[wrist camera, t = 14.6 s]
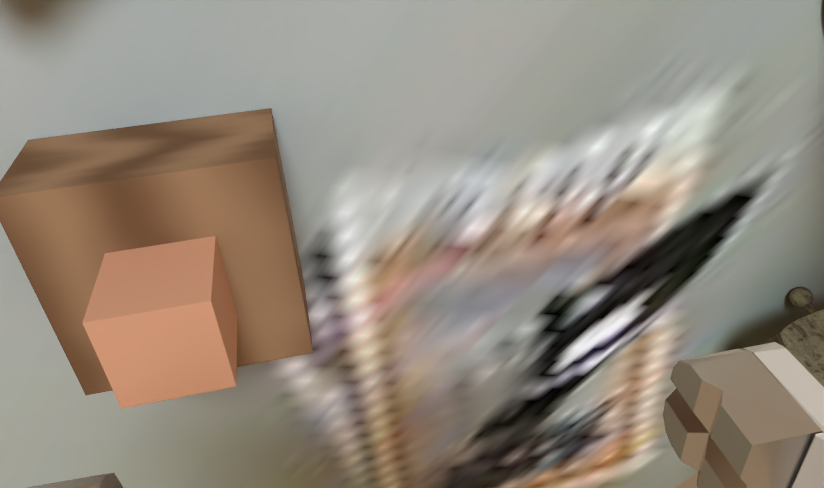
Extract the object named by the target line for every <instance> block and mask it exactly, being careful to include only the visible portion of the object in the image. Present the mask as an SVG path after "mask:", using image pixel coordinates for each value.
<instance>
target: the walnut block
mask: <svg viewBox="0 0 824 488" xmlns="http://www.w3.org/2000/svg"><path fill="white" fill-rule="evenodd" d="M0 222H1V224H2V226H3V228H4V230H5V232H6V234H7V236H8V238H9V240H10V242H11V244H12V246H13V248H14V250H15V252H16V255H17V257H18V259H19V261H20V263H21V265H22V267H23V269H24V271H25V273H26V275H27V277H28V279H29V281H30V283H31V285H32V287H33V289H34V291H35V293H36V295H37V297H38V299H39V301H40V303H41V305H42V307H43V309H44V311H45V313H46V315H47V317H48V319H49V321H50V324H51V326H52V328H53V330H54V332H55V334H56V336H57V338H58V340H59V342H60V344H61V346H62V348H63V350H64V352H65V354H66V356H67V358H68V360H69V362H70V364H71V366H72V368H73V370H74V372H75V374H76V376H77V378H78V380H79V382H80V384H81V386H82V388H83V390H84V392H85V395H90V394H95V393H100V392H106V391H111V390H113V389H112V387H111V385H110V383H109V380H108V378H107V376H106V374H105V372H104V369H103V367H102V365H101V363H100V361H99V358H98V356H97V354H96V352H95V350H94V347H93V345H92V343H91V341H90V339H89V336H88V334H87V332H86V330H85V328H84V325H83V320H84V316H85V313H86V310H87V307H88V304H89V301H90V298H91V295H92V292H93V289H94V285H95V282H96V279H97V276H98V273H99V270H100V267H101V264H102V261H103V258H104V255H105V253H110V252H117V251H123V250H129V249H136V248H142V247H148V246H155V245H161V244H168V243H174V242H180V241H187V240H193V239H199V238H206V237H212V236H216V240H217V243H218V247H219V251H220V254H221V258H222V262H223V265H224V269H225V273H226V276H227V280H228V284H229V287H230V291H231V295H232V298H233V302H234V306H235V309H236V313H237V367H239V366H244V365H249V364H255V363H260V362H265V361H271V360H276V359H281V358H287V357H292V356H297V355H303V354H308V353H313V348H312V341H311V333H310V325H309V317H308V309H307V301H306V293H305V286H304V281H303V276H302V270H301V265H300V260H299V254H298V249H297V244H296V238H295V233H294V228H293V222H292V217H291V212H290V206H289V201H288V196H287V190H286V185H285V180H284V175H283V169H282V164H281V159H280V153H279V148H278V143H277V137H276V132H275V127H274V121H273V116H272V111H271V108H270V109H263V110H255V111H247V112H240V113H232V114H224V115H217V116H209V117H202V118H194V119H186V120H179V121H171V122H163V123H156V124H148V125H140V126H133V127H125V128H118V129H110V130H102V131H95V132H87V133H79V134H72V135H64V136H56V137H49V138H41V139H33V140H28V141H27V143H26V144H25V146H24V147H23V149H22V150H21V152H20V153H19V155H18V156H17V158H16V159H15V160H14V162H13V163H12V165H11V166H10V168H9V169H8V171H7V172H6V174H5V175H4V177H3V178H2V180H1V181H0Z"/></svg>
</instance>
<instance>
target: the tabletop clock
mask: <svg viewBox="0 0 824 488" xmlns="http://www.w3.org/2000/svg"><path fill="white" fill-rule="evenodd" d="M789 299H790V301H791V303H792V304H793V305H794V306H797V307H800V308H804V307H805V308H806V310H807V311H808V313H809V314H810V315H807V316H805V317H802V318H800V319H798V320H796V321H794V322H792V323H791V324H789V325H788V326H786V327H785V328H783V329H782V330H781V331H779V332H778V333H777V334H775V335H774V336H773V337H771V338H770V339H769V340H768V341H767V342H766V343H765V344H767V343H772V342H776V343H778V344H780V345H782V346H784V347H785V348H786V349H787V350H788V351H789V352H790V353H791V354H792V355H793V356H794V357H795V358H796V359H797V360H798V361H799V362H800V363H801V364H802V365H803V366H804V367H805V369H806V370H807V371H808V372H809V373H810V374H811V375H812V376H813V377H814V378H815V379H816V380H817V381H818V382H819V383H820V384H821V385H822V386H823V387H824V309H822V310H820V311H818V310H817V309H816V308H815V307H814V306H813V305H812V304H811V303H812V301H813V294H812V293H811V291H810V290H808V289H807V288H805V287H797V288H794V289H793V290H792V291H791V292H790V294H789Z"/></svg>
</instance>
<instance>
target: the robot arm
mask: <svg viewBox="0 0 824 488" xmlns="http://www.w3.org/2000/svg"><path fill="white" fill-rule="evenodd" d="M670 379H671V381H672V382H673V384H674V385H675V386H676V389H675V390H674V391H673V392H672V393H671V394H670V395H669V396H668V397H667V398H666V400H665V406H664V411H663V418H664V424H665V430H666V433H667V436H668V438H669V441H670V443H671V446H672V447H673V449H674V451H675V452H676V454H677V455H678V457H679V459H680V460H681V461H683V462H684V463H686V464H688V465H689V466H691V467H693V468H694V469H696V470H698V478H697V487H698V488H824V387H823V386H822V385H821V384H820V383H819V382H818V381H817V380H816V379H815V378H814V377H813V376H812V375H811V374H810V373H809V372H808V371H807V370H806V369H805V367H804V366H803V365H802V364H801V363H800V362H799V361H798V360H797V359H796V358H795V357H794V356H793V355H792V354H791V353H790V352H789V351H788V350H787V349H786V348H785V347H784V346H782V345H780V344H778V343H776V342H772V343H767V344H762V345H756V346H751V347H746V348H742V349H733V350H728V351H723V352H719V353H714V354H709V355H704V356H699V357H695V358H690V359H685V360H680V361H678V363H677V364H676V365H675V366H674V367H673V370H672V374H671V378H670ZM27 488H123V486H122V485H121V483H120V481H119V480H118V478H117V477H116V475H115V473H110V474H103V475H97V476H91V477H85V478H79V479H73V480H67V481H61V482H56V483H50V484H44V485H38V486H32V487H27Z"/></svg>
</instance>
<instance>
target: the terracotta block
mask: <svg viewBox="0 0 824 488" xmlns="http://www.w3.org/2000/svg"><path fill="white" fill-rule="evenodd" d="M83 325H84V328H85V330H86V332H87V334H88V336H89V339H90V341H91V343H92V345H93V347H94V350H95V352H96V354H97V356H98V358H99V361H100V363H101V365H102V367H103V369H104V372H105V374H106V376H107V378H108V380H109V383H110V385H111V387H112V389H113V391H114V394H115V396H116V398H117V400H118V402H119V405H120V407H121V408H126V407H132V406H137V405H142V404H147V403H152V402H158V401H163V400H168V399H173V398H178V397H184V396H189V395H194V394H199V393H204V392H210V391H215V390H220V389H225V388H230V387H236V375H237V313H236V309H235V306H234V302H233V298H232V295H231V291H230V287H229V284H228V280H227V276H226V273H225V269H224V265H223V262H222V258H221V254H220V251H219V247H218V243H217V240H216V236H212V237H206V238H199V239H193V240H187V241H180V242H174V243H168V244H161V245H155V246H148V247H142V248H136V249H129V250H123V251H117V252H110V253H105V255H104V258H103V261H102V264H101V267H100V270H99V273H98V276H97V279H96V282H95V285H94V289H93V292H92V295H91V298H90V301H89V304H88V307H87V310H86V313H85V316H84V320H83Z"/></svg>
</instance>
